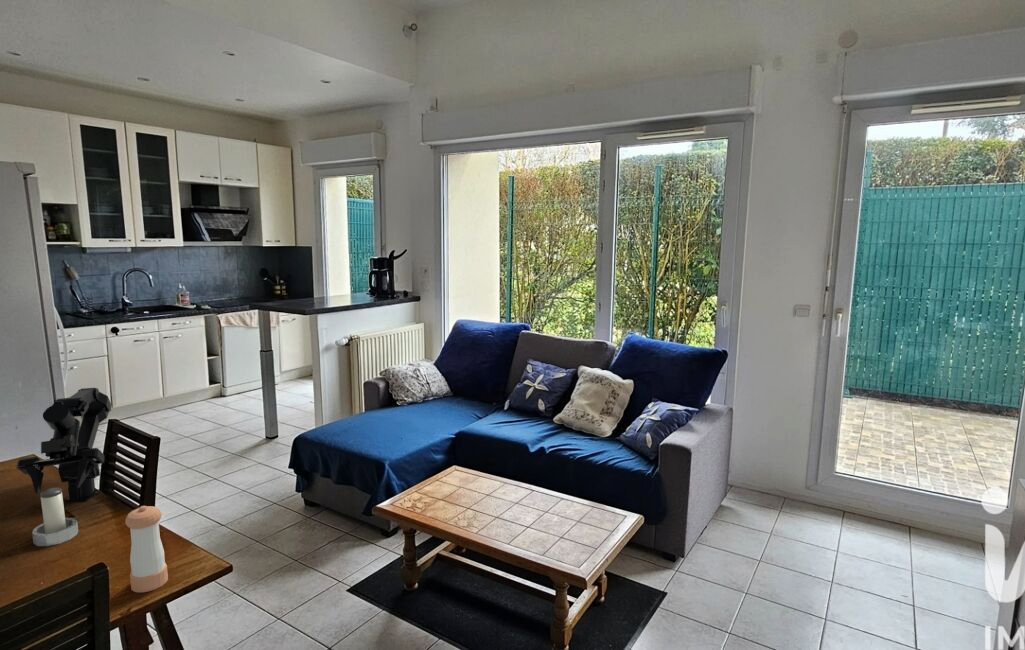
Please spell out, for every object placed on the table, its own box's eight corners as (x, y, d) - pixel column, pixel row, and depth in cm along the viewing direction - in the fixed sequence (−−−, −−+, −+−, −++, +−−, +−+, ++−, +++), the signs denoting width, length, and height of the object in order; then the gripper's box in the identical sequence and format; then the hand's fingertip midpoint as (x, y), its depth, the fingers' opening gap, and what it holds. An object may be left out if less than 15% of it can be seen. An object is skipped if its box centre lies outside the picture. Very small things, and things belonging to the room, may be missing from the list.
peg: (58, 531, 153) (53, 486, 151) (71, 533, 152) (65, 488, 150) (41, 539, 148) (35, 493, 146) (54, 542, 147) (48, 496, 145)
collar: (53, 527, 154) (52, 517, 154) (86, 528, 154) (85, 518, 154) (24, 545, 145) (23, 535, 145) (59, 546, 145) (58, 535, 145)
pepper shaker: (161, 570, 136) (154, 496, 133) (173, 581, 132) (166, 505, 129) (126, 583, 130) (118, 507, 127) (137, 596, 126) (129, 517, 123)
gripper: (11, 431, 151) (0, 487, 144) (93, 421, 158) (86, 474, 150) (31, 447, 160) (21, 500, 153) (107, 436, 167) (101, 487, 159)
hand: (57, 490), depth 153 cm, fingers open, 9 cm apart
